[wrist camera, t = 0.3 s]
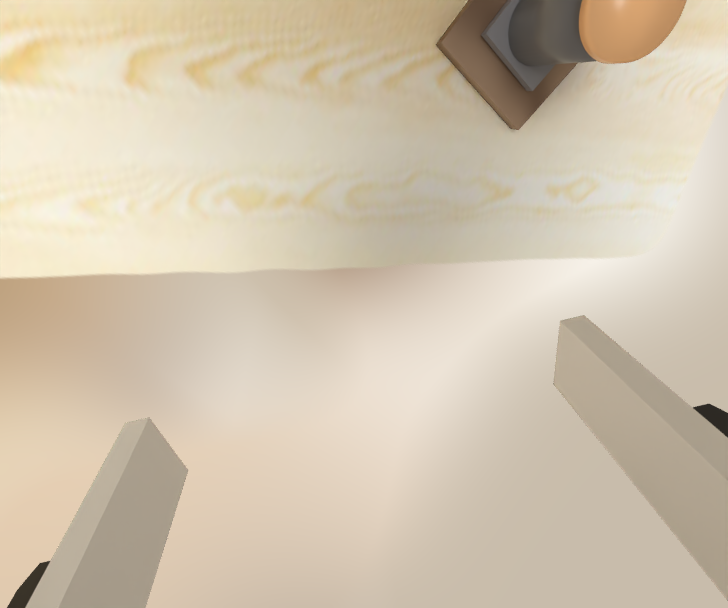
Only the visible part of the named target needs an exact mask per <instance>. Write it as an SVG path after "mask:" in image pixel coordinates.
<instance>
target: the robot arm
mask: <svg viewBox="0 0 728 608" xmlns="http://www.w3.org/2000/svg"><path fill="white" fill-rule="evenodd" d="M553 384H554V386H555V387H556V388H557V389H558V390H559V392H560V393H561V394H562V395H563V397H564V398H565V399H566V400H567V402H568V403H569V404H570V405H571V406H572V408H573V409H574V410H575V412H576V413H577V414H578V415H579V417H580V418H581V419H582V420H583V421H584V423H585V424H586V425H587V427H588V428H589V429H590V430H591V431H592V433H593V434H594V435H595V436H596V438H597V439H598V440H599V441H600V443H601V444H602V445H603V446H604V448H605V449H606V450H607V451H608V453H609V454H610V455H611V456H612V457H613V459H614V460H615V461H616V462H617V464H618V465H619V466H620V467H621V469H622V470H623V471H624V472H625V474H626V475H627V476H628V477H629V479H630V480H631V481H632V482H633V483H634V485H635V486H636V487H637V489H638V490H639V491H640V492H641V494H642V495H643V496H644V497H645V498H646V500H647V501H648V502H649V503H650V505H651V506H652V507H653V508H654V510H655V511H656V512H657V513H658V515H659V516H660V517H661V518H662V519H663V521H664V522H665V523H666V525H667V526H668V527H669V528H670V530H671V531H672V532H673V533H674V535H675V536H676V537H677V538H678V540H679V541H680V542H681V543H682V544H683V546H684V547H685V548H686V549H687V551H688V552H689V553H690V554H691V556H692V557H693V558H694V559H695V561H696V562H697V563H698V564H699V566H700V567H701V568H702V569H703V571H704V572H705V573H706V574H707V576H708V577H709V578H710V579H711V581H712V582H713V583H714V584H715V585H716V587H717V588H718V589H719V590H720V592H721V593H722V594H723V595H724V597H725V598H726V599H727V600H728V413H727V412H725V411H722V410H721V409H719V408H717V407H715V406H713V405H711V404H706V405H701V406H697V407H693V408H692V407H691V406H690V405H689V404H687V403H686V402H685V401H684V400H683V399H681V398H680V397H679V396H678V395H677V394H676V393H675V392H673V391H672V390H671V389H670V388H669V387H668V386H666V385H665V384H664V383H663V382H662V381H661V380H659V379H658V378H657V377H656V376H655V375H653V374H652V373H651V372H650V371H649V370H648V369H646V368H645V367H644V366H643V365H642V364H641V363H639V362H638V361H637V360H636V359H635V358H633V357H632V356H631V355H630V354H629V353H628V352H626V351H625V350H624V349H623V348H622V347H620V346H619V345H618V344H617V343H616V342H615V341H613V340H612V339H611V338H610V337H609V336H608V335H606V334H605V333H604V332H603V331H602V330H601V329H600V328H598V327H597V326H596V325H595V324H594V323H592V322H591V321H590V320H589V319H588V318H586V317H585V316H584V315H583V316H579V317H574V318H570V319H566V320H562V321H560V327H559V336H558V346H557V355H556V364H555V373H554V383H553ZM187 473H188V469H187V468H186V466H185V465H184V464H183V462H182V461H181V460H180V459H179V457H178V456H177V454H176V453H175V452H174V450H173V449H172V448H171V446H170V445H169V443H168V442H167V441H166V439H165V438H164V437H163V435H162V434H161V433H160V431H159V430H158V429H157V427H156V426H155V425H154V423H153V422H152V420H151V419H150V418H145V419H140V420H136V421H132V422H127V423H125V424H124V426H123V428H122V430H121V432H120V433H119V435H118V437H117V439H116V441H115V443H114V445H113V447H112V448H111V450H110V452H109V454H108V456H107V458H106V459H105V461H104V463H103V465H102V467H101V469H100V471H99V472H98V474H97V476H96V478H95V480H94V482H93V483H92V485H91V487H90V489H89V491H88V493H87V495H86V496H85V498H84V500H83V502H82V504H81V506H80V508H79V509H78V511H77V513H76V515H75V517H74V519H73V520H72V523H71V524H70V526H69V528H68V530H67V532H66V533H65V535H64V537H63V539H62V541H61V543H60V544H59V546H58V548H57V550H56V552H55V554H54V555H53V557H52V559H51V561H47V562H43V563H40V564H39V565H38V566H37V567H36V568H35V570H34V571H33V572H32V573H31V574H30V576H29V577H28V578H27V579H26V580H25V582H24V583H23V584H22V585H21V586H20V587H19V589H18V590H17V591H16V593H15V595H14V597H13V599H12V600H11V602H10V604H9V605H8V607H7V608H145V607H146V604H147V600H148V598H149V594H150V591H151V588H152V585H153V582H154V578H155V575H156V572H157V569H158V565H159V562H160V559H161V556H162V553H163V550H164V546H165V543H166V540H167V537H168V534H169V530H170V527H171V524H172V521H173V518H174V514H175V511H176V508H177V505H178V501H179V498H180V495H181V492H182V489H183V486H184V482H185V479H186V476H187Z"/></svg>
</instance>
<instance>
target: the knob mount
mask: <svg viewBox="0 0 728 608" xmlns="http://www.w3.org/2000/svg"><path fill="white" fill-rule="evenodd" d="M506 2H507V0H469V1H468V2H467V3H466V5H465V6H464V7H463V9H462V10H461V12H460V13H459V14H458V16H457V17H456V18H455V20H454V21H453V22H452V24H451V25H450V26H449V28H448V29H447V31H446V32H445V33H444V35H443V36H442V37H441V39H440V40H439V41H438V43H437V44H436V45H437V46H438V48H439V49H440V50H441V51H442V52H443V53H444V54H445V55H446V56H447V58H448V59H449V60H450V61H451V62H452V63H453V64H454V65H455V67H456V68H457V69H458V70H459V71H460V72H461V73H462V74H463V76H464V77H465V78H466V79H467V80H468V81H469V82H470V83H471V85H472V86H473V87H474V88H475V89H476V90H477V91H478V92H479V94H480V95H481V96H482V97H483V98H484V99H485V100H486V101H487V102H488V104H489V105H490V106H491V107H492V108H493V109H494V110H495V111H496V113H497V114H498V115H499V116H500V117H501V118H502V119H503V120H504V122H505V123H506V124H507V125H508V126H509V127H510V128H511V129H516V130H519V129H520V128H521V127H522V126H523V124H524V123H525V122H526V121H527V120H528V119H529V118H530V116H531V115H532V114H533V113H534V112H535V111H536V110H537V109H538V107H539V106H540V105H541V104H542V103H543V102H544V101H545V99H546V98H547V97H548V96H549V95H550V94H551V93H552V92H553V90H554V89H555V88H556V87H557V86H558V85H559V84H560V83H561V81H562V80H563V79H564V78H565V77H566V76H567V75H568V73H569V72H570V71H571V70H572V69H573V68H574V67H575V66H576V64H577V63H566V64H556V65H555V66H554V67H553V68H552V69H551V70H550V72H549V73H548V74H547V75H546V76H545V77H544V79H543V80H542V81H541V82H540V83H539V84H538V85H537V87H536V88H535V89H534V90H533V91H526V89H525V88H524V87H523V86H522V85H521V83H520V82H519V81H518V80H517V78H516V77H515V76H514V75H513V74H512V72H511V71H510V70H509V69H508V67H507V66H506V65H505V64H504V63H503V61H502V60H501V59H500V58H499V56H498V55H497V54H496V53H495V52H494V50H493V49H492V48H491V47H490V45H489V44H488V43H487V42H486V41H485V39H484V38H483V37H482V36H481V34H482V33H483V32H484V30H485V29H486V28H487V26H488V25H489V24H490V22H491V21H492V20H493V19H494V17H495V16H496V15H497V13H498V12H499V11H500V10H501V8H502V7H503V6H504V4H505V3H506Z"/></svg>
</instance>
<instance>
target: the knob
mask: <svg viewBox="0 0 728 608" xmlns="http://www.w3.org/2000/svg"><path fill="white" fill-rule="evenodd" d="M685 3H686V0H507V2H506V3H505V4H504V6H503V7H502V8H501V10H500V11H499V12H498V13H497V15H496V16H495V17H494V19H493V20H492V21H491V22H490V24H489V25H488V26H487V28H486V29H485V30H484V32H483V33H482V34H481V36H482V37H483V38H484V39H485V41H486V42H487V43H488V44H489V45H490V47H491V48H492V49H493V50H494V52H495V53H496V54H497V55H498V56H499V58H500V59H501V60H502V61H503V63H504V64H505V65H506V66H507V67H508V69H509V70H510V71H511V72H512V74H513V75H514V76H515V77H516V78H517V80H518V81H519V82H520V83H521V85H522V86H523V87H524V88H525V89H526V91H533V90H534V89H535V88H536V87H537V85H538V84H539V83H540V82H541V81H542V80H543V79H544V77H545V76H546V75H547V74H548V73H549V72H550V70H551V69H552V68H553V67H554V66H555V65H556V64H566V63H578V62H591V61H598V62H601V63H606V64H615V63H628V62H633V61H635V60H638V59H640V58H642V57H644V56H646V55H648V54H649V53H651V52H652V51H653V50H654V49H656V48H657V47H658V46H659V45H660V44H661V43H662V42H663V41H664V40H665V39H666V37H667V36H668V35H669V34H670V32H671V31H672V29H673V28H674V26H675V25H676V23H677V21H678V20H679V18H680V16H681V14H682V11H683V9H684V6H685Z"/></svg>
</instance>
